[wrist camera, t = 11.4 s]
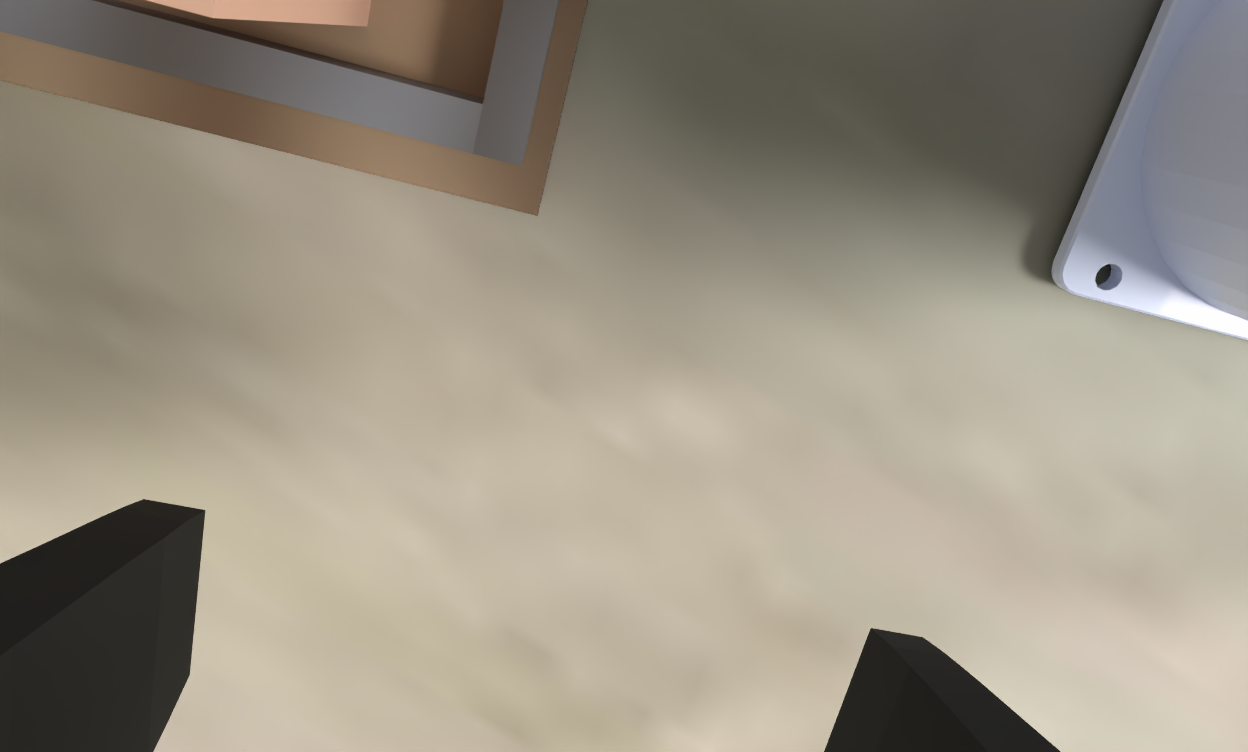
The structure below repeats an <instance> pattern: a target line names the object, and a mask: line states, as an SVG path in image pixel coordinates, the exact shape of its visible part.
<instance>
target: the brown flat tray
mask: <svg viewBox="0 0 1248 752" xmlns="http://www.w3.org/2000/svg"><path fill="white" fill-rule="evenodd" d="M587 1H588V0H371V6H370V12H369V18H368V24H367V27H366V26H348V25H329V24H311V23H293V22H275V21H256V20H238V19H220V18H211V17H207V16H203V15H200V14H196V13H192V12H188V11H185V10H181V9H177V8H173V7H170V6H166V5H162V4H158V3H155V2H151V1H147V0H0V80H2V81H6V82H10V83H14V84H18V85H22V86H25V87H29V88H33V89H37V90H41V91H45V92H49V93H53V94H57V95H61V96H65V97H69V98H73V99H77V100H81V101H85V102H89V103H93V104H97V105H101V106H105V107H109V108H113V109H117V110H121V111H124V112H128V113H132V114H136V115H140V116H144V117H148V118H152V119H156V120H160V121H164V122H168V123H172V124H176V125H180V126H184V127H188V128H192V129H196V130H200V131H204V132H208V133H212V134H216V135H219V136H223V137H227V138H231V139H235V140H239V141H243V142H247V143H251V144H255V145H259V146H263V147H267V148H271V149H275V150H279V151H283V152H287V153H291V154H295V155H299V156H303V157H307V158H311V159H314V160H318V161H322V162H326V163H330V164H334V165H338V166H342V167H346V168H350V169H354V170H358V171H362V172H366V173H370V174H374V175H378V176H382V177H386V178H390V179H394V180H398V181H402V182H406V183H409V184H413V185H417V186H421V187H425V188H429V189H433V190H437V191H441V192H445V193H449V194H453V195H457V196H461V197H465V198H469V199H473V200H477V201H481V202H485V203H489V204H493V205H497V206H501V207H505V208H508V209H512V210H516V211H520V212H524V213H528V214H532V215H536V216H538V211H539V207H540V203H541V199H542V194H543V190H544V186H545V181H546V177H547V173H548V169H549V164H550V160H551V156H552V151H553V147H554V143H555V139H556V134H557V130H558V126H559V121H560V117H561V113H562V109H563V104H564V100H565V96H566V91H567V87H568V83H569V78H570V74H571V70H572V66H573V61H574V57H575V53H576V48H577V44H578V40H579V36H580V31H581V27H582V23H583V18H584V14H585V10H586V6H587Z"/></svg>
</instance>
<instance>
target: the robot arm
mask: <svg viewBox="0 0 1248 752" xmlns="http://www.w3.org/2000/svg"><path fill="white" fill-rule="evenodd" d="M1107 264H1110V266H1111V274H1110V277H1109V278H1108V279H1107V281H1106V282H1104V283H1102V284H1100V285H1097V284H1096V282H1095V279H1096V274H1097V272H1098V271H1099V270H1100V268H1101V267H1103V266H1105V265H1107ZM1051 271H1052V276H1053V280H1054V281H1055V283H1056V284H1057V286H1058V287H1060V288H1062V289H1064V290H1066V291H1068V292H1070V293H1072V294H1073V295H1077V296H1081V297H1085V298H1088V299H1092V300H1096V301H1100V302H1104V303H1108V304H1111V305H1115V306H1119V307H1123V308H1127V309H1131V310H1134V311H1138V312H1142V313H1146V314H1150V315H1154V316H1157V317H1161V318H1165V319H1169V320H1173V321H1176V322H1180V323H1184V324H1188V325H1192V326H1196V327H1199V328H1203V329H1207V330H1211V331H1215V332H1219V333H1222V334H1226V335H1230V336H1234V337H1238V338H1242V339H1245V340H1248V0H1164V1H1163V3H1162V5H1161V8H1160V10H1159V13H1158V15H1157V17H1156V20H1155V22H1154V24H1153V27H1152V29H1151V31H1150V34H1149V36H1148V39H1147V41H1146V43H1145V46H1144V48H1143V50H1142V53H1141V55H1140V58H1139V60H1138V62H1137V65H1136V67H1135V69H1134V72H1133V74H1132V76H1131V79H1130V81H1129V84H1128V86H1127V88H1126V91H1125V93H1124V95H1123V98H1122V100H1121V102H1120V105H1119V107H1118V110H1117V112H1116V114H1115V117H1114V119H1113V121H1112V124H1111V126H1110V129H1109V131H1108V133H1107V136H1106V138H1105V140H1104V143H1103V145H1102V147H1101V150H1100V152H1099V155H1098V157H1097V159H1096V162H1095V164H1094V166H1093V169H1092V171H1091V173H1090V176H1089V178H1088V181H1087V183H1086V185H1085V188H1084V190H1083V192H1082V195H1081V197H1080V200H1079V202H1078V204H1077V207H1076V209H1075V211H1074V214H1073V216H1072V218H1071V221H1070V223H1069V226H1068V228H1067V230H1066V233H1065V235H1064V237H1063V240H1062V242H1061V244H1060V247H1059V249H1058V252H1057V254H1056V256H1055V259H1054V261H1053V266H1052V270H1051ZM204 518H205V510H201V509H196V508H190V507H184V506H179V505H173V504H167V503H162V502H156V501H150V500H145V499H143V500H141V501H138V502H135V503H133V504H130V505H128V506H125V507H123V508H121V509H118V510H116V511H114V512H111V513H109V514H107V515H105V516H102V517H100V518H98V519H96V520H94V521H92V522H89V523H87V524H85V525H83V526H81V527H79V528H77V529H74V530H72V531H70V532H68V533H66V534H64V535H62V536H59V537H57V538H55V539H53V540H51V541H49V542H47V543H44V544H42V545H40V546H38V547H36V548H34V549H31V550H29V551H27V552H25V553H23V554H20V555H18V556H16V557H14V558H12V559H9V560H7V561H5V562H3V563H1V564H0V752H153V751H154V749H155V747H156V745H157V743H158V741H159V739H160V737H161V735H162V733H163V731H164V729H165V726H166V724H167V722H168V720H169V718H170V716H171V714H172V712H173V709H174V707H175V705H176V703H177V701H178V699H179V697H180V694H181V692H182V690H183V688H184V686H185V684H186V682H187V679H188V677H189V675H190V665H191V654H192V644H193V633H194V623H195V612H196V602H197V591H198V581H199V570H200V560H201V550H202V539H203V529H204ZM824 752H1060V751H1059V750H1058V749H1057V748H1056V747H1055V746H1053V745H1052V744H1051V743H1050V742H1049V741H1047V740H1046V739H1045V738H1044V737H1043V736H1042V735H1041V734H1039V733H1038V732H1037V731H1036V730H1035V729H1034V728H1032V727H1031V726H1030V725H1029V724H1028V723H1027V722H1025V721H1024V720H1023V719H1022V718H1021V717H1020V716H1019V715H1017V714H1016V713H1015V712H1014V711H1013V710H1012V709H1010V708H1009V707H1008V706H1007V705H1006V704H1005V703H1004V702H1002V701H1001V700H1000V699H999V698H998V697H997V696H995V695H994V694H993V693H992V692H991V691H990V690H988V689H987V688H986V687H985V686H984V685H983V684H981V683H980V682H979V681H978V680H977V679H976V678H974V677H973V676H972V675H971V674H970V673H968V672H967V671H966V670H965V669H964V668H962V667H961V666H960V665H959V664H957V663H956V662H955V661H954V660H953V659H951V658H950V657H949V656H948V655H946V654H945V653H944V652H942V651H941V650H940V649H938V648H937V647H936V646H934V645H933V644H931V643H930V642H929V641H927V640H926V639H924V638H923V637H918V636H913V635H907V634H901V633H896V632H890V631H884V630H879V629H873V628H871V629H870V632H869V634H868V637H867V640H866V642H865V645H864V648H863V650H862V653H861V656H860V658H859V661H858V664H857V666H856V669H855V671H854V674H853V677H852V679H851V682H850V685H849V687H848V690H847V693H846V695H845V698H844V701H843V703H842V706H841V709H840V711H839V714H838V716H837V719H836V722H835V724H834V727H833V730H832V732H831V735H830V738H829V740H828V743H827V746H826V748H825V751H824Z"/></svg>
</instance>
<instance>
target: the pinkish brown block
mask: <svg viewBox="0 0 1248 752" xmlns="http://www.w3.org/2000/svg"><path fill="white" fill-rule="evenodd" d="M147 1H151V2H155V3H158V4H162V5H166V6H170V7H173V8H177V9H181V10H185V11H188V12H192V13H196V14H200V15H203V16H207V17H211V18H220V19H238V20H256V21H275V22H293V23H311V24H329V25H348V26H366V27H367V24H368V18H369V12H370V6H371V0H147Z"/></svg>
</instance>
